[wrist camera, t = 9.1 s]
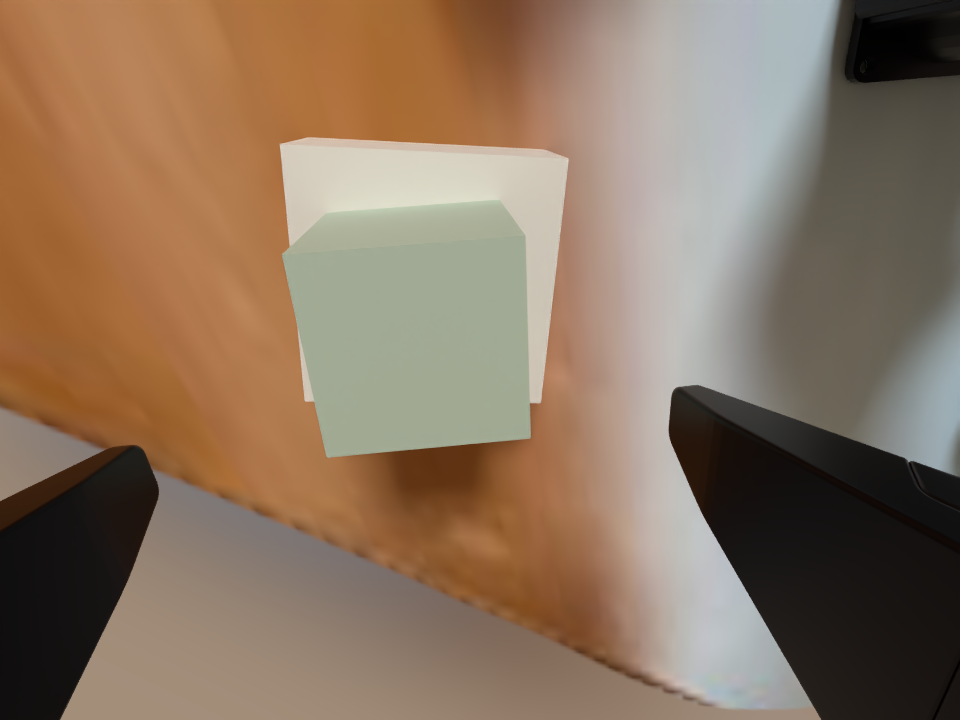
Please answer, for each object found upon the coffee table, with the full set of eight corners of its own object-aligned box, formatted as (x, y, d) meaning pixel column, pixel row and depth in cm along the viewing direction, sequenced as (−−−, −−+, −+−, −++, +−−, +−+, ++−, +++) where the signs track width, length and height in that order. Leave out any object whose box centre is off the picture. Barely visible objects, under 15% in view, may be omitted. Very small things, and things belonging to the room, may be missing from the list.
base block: (542, 148, 19) (568, 158, 15) (523, 355, 22) (540, 403, 19) (310, 137, 18) (279, 144, 15) (326, 352, 22) (304, 401, 18)
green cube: (499, 199, 16) (525, 235, 11) (506, 355, 18) (530, 438, 13) (327, 212, 15) (281, 254, 11) (354, 368, 18) (326, 457, 13)
